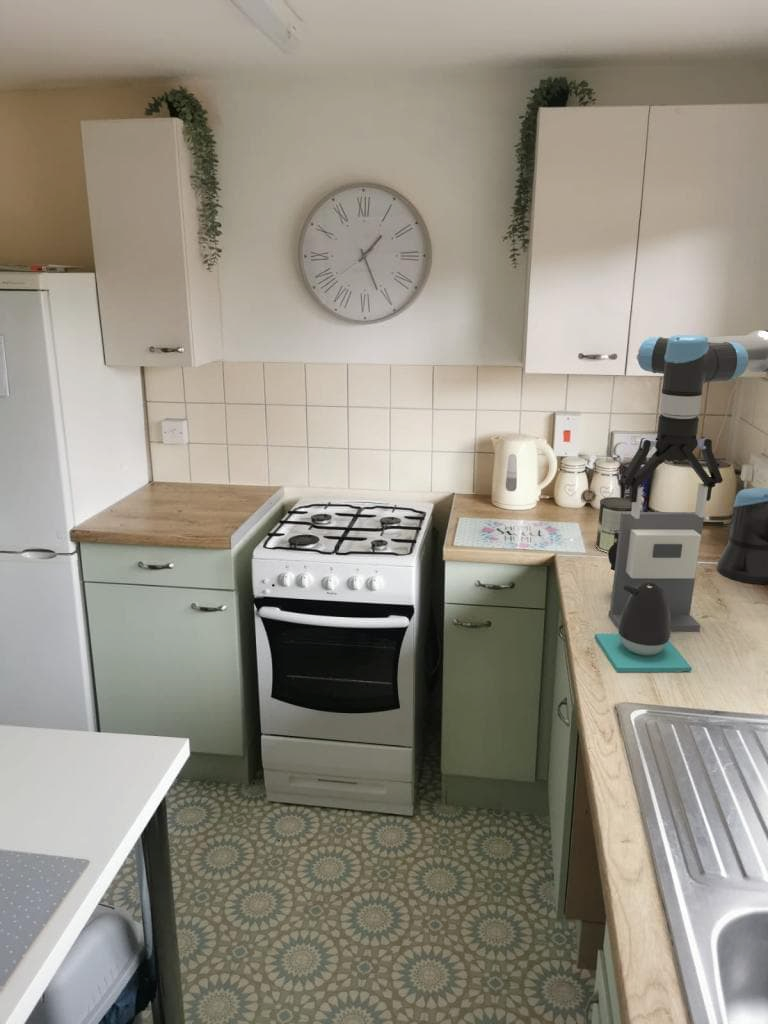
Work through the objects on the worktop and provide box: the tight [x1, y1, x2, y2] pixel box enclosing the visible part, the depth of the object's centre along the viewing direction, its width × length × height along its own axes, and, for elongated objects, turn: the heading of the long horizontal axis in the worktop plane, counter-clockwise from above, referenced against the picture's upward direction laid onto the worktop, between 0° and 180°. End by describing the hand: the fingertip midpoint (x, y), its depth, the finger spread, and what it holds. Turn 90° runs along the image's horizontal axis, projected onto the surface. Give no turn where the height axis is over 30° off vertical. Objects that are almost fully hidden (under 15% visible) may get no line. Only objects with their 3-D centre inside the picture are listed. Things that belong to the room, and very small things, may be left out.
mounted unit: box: [607, 511, 705, 633], centre depth 169 cm, size 18×8×26 cm, turn 92°
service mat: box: [594, 633, 693, 673], centre depth 159 cm, size 15×15×1 cm
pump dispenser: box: [617, 581, 672, 656], centre depth 156 cm, size 10×10×15 cm
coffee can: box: [595, 496, 632, 552], centre depth 218 cm, size 10×10×14 cm
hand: (667, 516), depth 159 cm, fingers open, 13 cm apart
